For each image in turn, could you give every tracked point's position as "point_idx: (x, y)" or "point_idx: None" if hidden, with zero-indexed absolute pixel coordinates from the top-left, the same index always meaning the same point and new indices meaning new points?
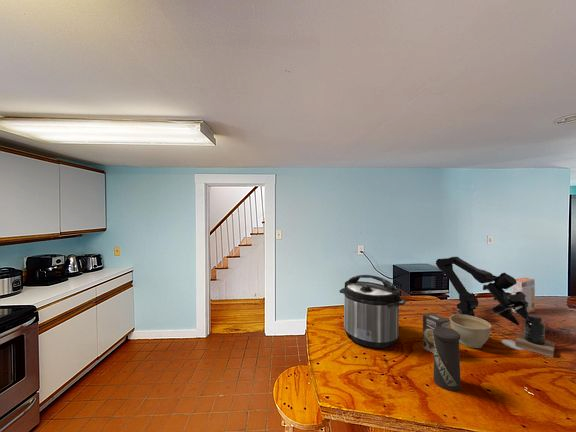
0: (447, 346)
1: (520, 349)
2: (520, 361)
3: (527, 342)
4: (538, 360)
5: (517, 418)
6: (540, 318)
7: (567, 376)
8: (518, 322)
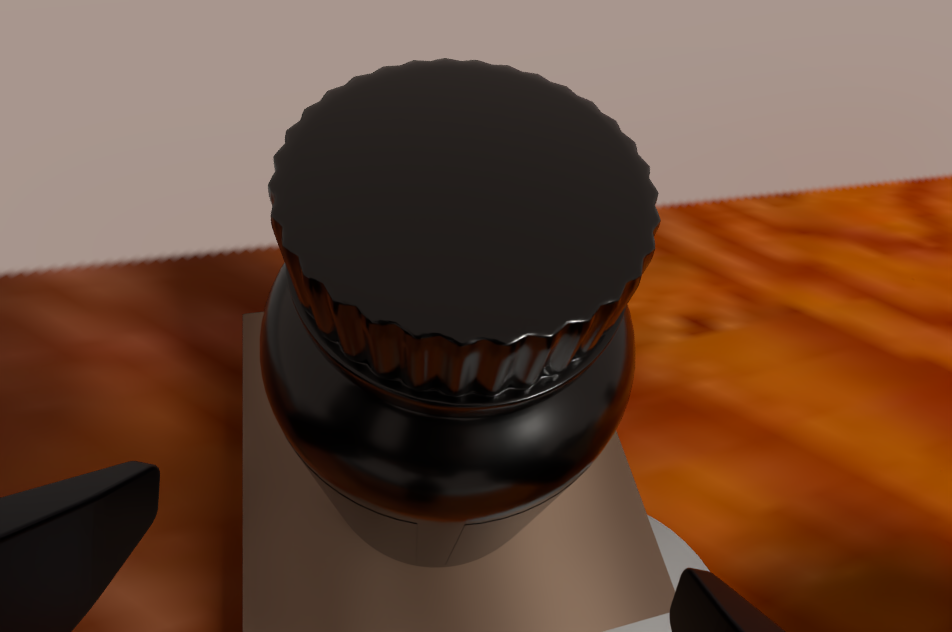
0: None
1: (676, 536)
2: (919, 440)
3: (564, 492)
4: (729, 361)
5: None
6: (510, 72)
7: (757, 209)
8: (715, 595)
